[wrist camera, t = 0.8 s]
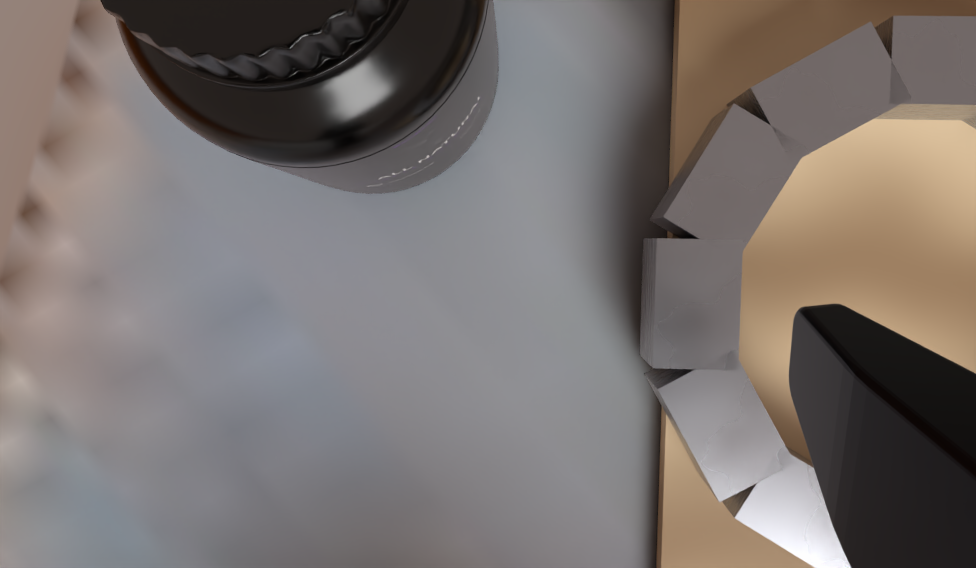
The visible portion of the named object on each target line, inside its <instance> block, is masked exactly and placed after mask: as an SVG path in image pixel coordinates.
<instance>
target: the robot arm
mask: <svg viewBox="0 0 976 568" xmlns="http://www.w3.org/2000/svg"><path fill="white" fill-rule="evenodd" d="M789 387H790V393H791V397H792V400H793V404H794V407H795V410H796V413H797V416H798V419H799V422H800V426H801V429H802V432H803V435H804V438H805V441H806V445H807V448H808V451H809V454H810V457H811V460H812V463H813V467H814V470H815V473H816V476H817V479H818V482H819V486H820V489H821V492H822V495H823V498H824V501H825V504H826V507H827V510H828V513H829V516H830V519H831V522H832V525H833V528H834V530H835V532H836V535H837V537H838V540H839V542H840V544H841V547H842V549H843V551H844V554H845V556H846V558H847V560H848V562H849V564H850V567H851V568H976V373H974V372H972V371H970V370H968V369H966V368H964V367H963V366H961V365H959V364H957V363H955V362H953V361H951V360H949V359H947V358H945V357H943V356H941V355H939V354H937V353H935V352H933V351H932V350H930V349H928V348H926V347H924V346H922V345H920V344H918V343H916V342H914V341H912V340H910V339H908V338H906V337H904V336H902V335H900V334H899V333H897V332H895V331H893V330H891V329H889V328H887V327H885V326H883V325H881V324H879V323H877V322H875V321H873V320H871V319H869V318H868V317H866V316H864V315H862V314H860V313H858V312H856V311H854V310H852V309H850V308H848V307H846V306H844V305H842V304H836V303H834V304H824V305H815V306H805V307H801V308H800V309H799V310H798V311H797V312H796V314H795V316H794V320H793V329H792V341H791V352H790V363H789Z"/></svg>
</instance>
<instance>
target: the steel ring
mask: <svg viewBox="0 0 976 568" xmlns="http://www.w3.org/2000/svg"><path fill="white" fill-rule="evenodd" d="M727 106H728V108H726V109H725V110H723V111H722V112H720V113H719V114H717V115H716V116H714V117H713V118H712V119H711V120H710V122H709V124H708V125H707V127H706V129H705V130H704V132H703V133H702V135H701V137H700V138H699V140H698V141H697V143H696V145H695V146H694V148H693V149H692V151H691V153H690V154H689V156H688V158H687V159H686V161H685V162H684V164H683V166H682V167H681V169H680V170H679V172H678V174H677V175H676V177H675V179H674V180H673V182H672V183H671V185H670V187H669V188H668V190H667V191H666V193H665V195H664V196H663V198H662V200H661V201H660V203H659V204H658V206H657V208H656V209H655V211H654V212H653V214H652V216H651V217H650V219H649V220H651V221H652V222H654V223H656V224H657V225H659V226H660V227H662V228H664V229H665V230H667V231H669V232H670V233H672V234H674V235H675V236H677V237H679V238H680V239H671V238H645V239H643V265H642V297H641V329H640V356H641V357H642V358H643V359H644V360H645V361H646V362H647V363H648V364H649V365H650V366H651V367H652V368H654V369H652V370H650V371H648V372H646V373H644V374H645V376H646V378H647V380H648V382H649V383H650V385H651V387H652V389H653V391H654V393H655V394H656V396H657V398H658V400H659V402H660V404H661V405H662V407H663V409H664V411H665V413H666V415H667V416H668V418H669V420H670V422H671V424H672V426H673V427H674V429H675V431H676V433H677V435H678V437H679V438H680V440H681V442H682V444H683V446H684V448H685V450H686V451H687V453H688V455H689V457H690V459H691V461H692V462H693V464H694V466H695V468H696V470H697V472H698V473H699V475H700V476H701V478H702V479H703V481H704V482H705V483H706V485H707V486H708V487H709V489H710V490H711V492H712V493H713V494H714V496H715V497H716V498H717V500H718V501H719V502H721V501H722V502H723V503H724V505H725V506H726V507H727V509H728V510H729V512H730V513H731V514H732V516H733V517H734V518H735V519H737V520H738V521H740V522H741V523H743V524H745V525H746V526H748V527H750V528H751V529H753V530H755V531H756V532H758V533H759V534H761V535H763V536H764V537H766V538H768V539H769V540H771V541H773V542H774V543H776V544H777V545H779V546H781V547H782V548H784V549H786V550H787V551H789V552H791V553H792V554H794V555H795V556H797V557H799V558H800V559H802V560H804V561H805V562H807V563H808V564H810V565H812V566H813V567H815V568H851V567H850V564H849V562H848V560H847V558H846V556H845V554H844V551H843V549H842V547H841V544H840V542H839V540H838V537H837V535H836V532H835V530H834V528H833V525H832V522H831V519H830V516H829V513H828V510H827V507H826V504H825V501H824V498H823V495H822V492H821V489H820V486H819V482H818V479H817V476H816V473H815V470H814V467H813V463H812V461H810V460H809V459H807V458H805V457H804V456H802V455H800V454H799V453H797V452H796V451H794V450H792V449H791V448H789V447H787V446H786V445H785V444H784V442H783V440H782V439H781V437H780V435H779V433H778V431H777V429H776V428H775V426H774V424H773V422H772V420H771V418H770V416H769V415H768V413H767V411H766V409H765V407H764V405H763V404H762V402H761V400H760V398H759V396H758V394H757V392H756V391H755V389H754V387H753V385H752V383H751V381H750V380H749V378H748V376H747V374H746V372H745V370H744V368H743V367H742V365H741V363H740V361H739V336H740V310H741V283H742V256H743V250H744V249H745V247H746V245H747V244H748V242H749V241H750V239H751V237H752V236H753V234H754V233H755V231H756V230H757V228H758V226H759V225H760V223H761V222H762V220H763V218H764V217H765V215H766V214H767V212H768V210H769V209H770V207H771V206H772V204H773V203H774V201H775V199H776V198H777V196H778V195H779V193H780V191H781V190H782V188H783V187H784V185H785V184H786V182H787V180H788V179H789V177H790V176H791V174H792V172H793V171H794V169H795V168H796V166H797V164H798V163H799V161H800V160H801V158H802V157H804V156H806V155H808V154H810V153H811V152H813V151H815V150H817V149H819V148H821V147H823V146H824V145H826V144H828V143H830V142H832V141H834V140H835V139H837V138H839V137H841V136H843V135H845V134H847V133H848V132H850V131H852V130H854V129H856V128H858V127H859V126H861V125H863V124H865V123H867V122H869V121H871V120H872V119H900V120H962V121H963V122H965V123H967V124H968V125H970V126H972V127H973V128H975V129H976V16H892V17H890V18H889V19H887V20H886V21H884V22H882V23H881V24H879V25H878V26H876V27H874V26H873V24H872V22H869V23H867V24H865V25H863V26H861V27H860V28H858V29H856V30H854V31H852V32H851V33H849V34H847V35H845V36H843V37H842V38H840V39H838V40H836V41H834V42H832V43H831V44H829V45H827V46H825V47H823V48H822V49H820V50H818V51H816V52H814V53H812V54H811V55H809V56H807V57H805V58H803V59H802V60H800V61H798V62H796V63H794V64H792V65H791V66H789V67H787V68H785V69H783V70H782V71H780V72H778V73H776V74H774V75H772V76H771V77H769V78H767V79H765V80H763V81H762V82H760V83H758V84H756V85H754V86H752V87H751V88H749V89H748V90H746V91H745V92H743V93H742V94H741V95H739V96H738V97H736V98H735V99H733V100H732V101H731V102H729V103H728V104H727Z"/></svg>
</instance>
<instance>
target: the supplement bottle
mask: <svg viewBox="0 0 976 568" xmlns="http://www.w3.org/2000/svg"><path fill="white" fill-rule="evenodd" d="M101 2H102V4H103V6H104V8H105V10H106V11H107V12H108V13H110V14H111V15H113V16H114V17H115V18H116V22H117V25H118V28H119V31H120V34H121V37H122V40H123V43H124V45H125V47H126V49H127V52H128V54H129V56H130V58H131V60H132V62H133V64H134V65H135V67H136V69H137V71H138V72H139V74H140V76H141V77H142V79H143V80H144V81H145V83H146V84H147V86H148V87H149V89H150V90H151V91H152V93H153V94H154V95H155V96H156V97H157V98H158V100H159V101H160V102H161V103H162V104H163V105H164V106H165V107H166V108H167V109H168V110H169V111H170V112H171V113H172V114H173V115H174V116H175V117H176V118H177V119H178V120H180V121H181V122H182V123H183V124H185V125H186V126H187V127H188V128H190V129H191V130H192V131H194V132H196V133H197V134H199V135H200V136H202V137H203V138H205V139H206V140H208V141H210V142H212V143H214V144H215V145H217V146H219V147H221V148H223V149H225V150H227V151H229V152H231V153H234V154H236V155H239V156H241V157H244V158H247V159H249V160H252V161H255V162H258V163H261V164H263V165H266V166H269V167H272V168H275V169H278V170H281V171H284V172H287V173H290V174H293V175H296V176H299V177H302V178H305V179H307V180H310V181H313V182H316V183H319V184H322V185H325V186H329V187H332V188H336V189H340V190H344V191H349V192H355V193H366V194H379V193H389V192H396V191H400V190H405V189H408V188H411V187H414V186H417V185H420V184H422V183H424V182H426V181H429V180H430V179H432V178H434V177H436V176H438V175H439V174H441V173H442V172H444V171H445V170H446V169H448V168H449V167H450V166H452V165H453V164H454V163H455V162H456V161H457V160H459V159H460V158H461V156H462V155H463V154H464V153H465V152H466V151H467V150H468V149H469V148H470V146H471V145H472V144H473V142H474V141H475V140H476V138H477V136H478V135H479V133H480V132H481V130H482V128H483V126H484V124H485V122H486V120H487V118H488V115H489V113H490V110H491V108H492V104H493V101H494V97H495V93H496V88H497V82H498V70H499V66H498V42H497V32H496V22H495V12H494V3H493V0H101Z"/></svg>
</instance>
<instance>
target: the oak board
mask: <svg viewBox="0 0 976 568" xmlns="http://www.w3.org/2000/svg"><path fill="white" fill-rule="evenodd" d="M892 16H976V0H675V15H674V45H673V76H672V106H671V136H670V167H669V187H670V185H671V183H672V182H673V180H674V179H675V177H676V175H677V174H678V172H679V170H680V169H681V167H682V166H683V164H684V162H685V161H686V159H687V158H688V156H689V154H690V153H691V151H692V149H693V148H694V146H695V145H696V143H697V141H698V140H699V138H700V137H701V135H702V133H703V132H704V130H705V129H706V127H707V125H708V124H709V122H710V120H711V119H712V118H713V117H714V116H716V115H717V114H719V113H720V112H722V111H723V110H725V109H726V108H728V106H727V104H728V103H729V102H731V101H732V100H733V99H735V98H736V97H738V96H739V95H741V94H742V93H743V92H745V91H746V90H748V89H749V88H751V87H752V86H754V85H756V84H758V83H760V82H762V81H763V80H765V79H767V78H769V77H771V76H772V75H774V74H776V73H778V72H780V71H782V70H783V69H785V68H787V67H789V66H791V65H792V64H794V63H796V62H798V61H800V60H802V59H803V58H805V57H807V56H809V55H811V54H812V53H814V52H816V51H818V50H820V49H822V48H823V47H825V46H827V45H829V44H831V43H832V42H834V41H836V40H838V39H840V38H842V37H843V36H845V35H847V34H849V33H851V32H852V31H854V30H856V29H858V28H860V27H861V26H863V25H865V24H867V23H869V22H872V24H873V26H874V27H876V26H878V25H879V24H881V23H882V22H884V21H886V20H887V19H889V18H890V17H892ZM667 238H671V239H680V238H679V237H677V236H675V235H674V234H672V233H670V232H669V231H667ZM834 303H836V304H842V305H844V306H846V307H848V308H850V309H852V310H854V311H856V312H858V313H860V314H862V315H864V316H866V317H868V318H869V319H871V320H873V321H875V322H877V323H879V324H881V325H883V326H885V327H887V328H889V329H891V330H893V331H895V332H897V333H899V334H900V335H902V336H904V337H906V338H908V339H910V340H912V341H914V342H916V343H918V344H920V345H922V346H924V347H926V348H928V349H930V350H932V351H933V352H935V353H937V354H939V355H941V356H943V357H945V358H947V359H949V360H951V361H953V362H955V363H957V364H959V365H961V366H963V367H964V368H966V369H968V370H970V371H972V372H974V373H976V129H975V128H973V127H972V126H970V125H968V124H967V123H965V122H963V121H962V120H900V119H872V120H871V121H869V122H867V123H865V124H863V125H861V126H859V127H858V128H856V129H854V130H852V131H850V132H848V133H847V134H845V135H843V136H841V137H839V138H837V139H835V140H834V141H832V142H830V143H828V144H826V145H824V146H823V147H821V148H819V149H817V150H815V151H813V152H811V153H810V154H808V155H806V156H804V157H802V158H801V160H800V161H799V163H798V164H797V166H796V168H795V169H794V171H793V172H792V174H791V176H790V177H789V179H788V180H787V182H786V184H785V185H784V187H783V188H782V190H781V191H780V193H779V195H778V196H777V198H776V199H775V201H774V203H773V204H772V206H771V207H770V209H769V210H768V212H767V214H766V215H765V217H764V218H763V220H762V222H761V223H760V225H759V226H758V228H757V230H756V231H755V233H754V234H753V236H752V237H751V239H750V241H749V242H748V244H747V245H746V247H745V249H744V250H743V256H742V283H741V310H740V336H739V361H740V363H741V365H742V367H743V368H744V370H745V372H746V374H747V376H748V378H749V380H750V381H751V383H752V385H753V387H754V389H755V391H756V392H757V394H758V396H759V398H760V400H761V402H762V404H763V405H764V407H765V409H766V411H767V413H768V415H769V416H770V418H771V420H772V422H773V424H774V426H775V428H776V429H777V431H778V433H779V435H780V437H781V439H782V440H783V442H784V444H785V445H786V446H787V447H789V448H791V449H792V450H794V451H796V452H797V453H799V454H800V455H802V456H804V457H805V458H807V459H809V460H810V461H812V460H811V457H810V454H809V451H808V448H807V445H806V441H805V438H804V435H803V432H802V429H801V426H800V422H799V419H798V416H797V413H796V410H795V407H794V404H793V400H792V397H791V393H790V387H789V363H790V352H791V341H792V329H793V320H794V316H795V314H796V312H797V311H798V310H799V309H800V308H801V307H805V306H815V305H824V304H834ZM656 568H815V567H813V566H812V565H810V564H808V563H807V562H805V561H804V560H802V559H800V558H799V557H797V556H795V555H794V554H792V553H791V552H789V551H787V550H786V549H784V548H782V547H781V546H779V545H777V544H776V543H774V542H773V541H771V540H769V539H768V538H766V537H764V536H763V535H761V534H759V533H758V532H756V531H755V530H753V529H751V528H750V527H748V526H746V525H745V524H743V523H741V522H740V521H738V520H737V519H735V518H734V517H733V516H732V514H731V513H730V512H729V510H728V509H727V507H726V506H725V505H724V503H723V502H722V501H721V502H719V501H718V500H717V498H716V497H715V496H714V494H713V493H712V492H711V490H710V489H709V487H708V486H707V485H706V483H705V482H704V481H703V479H702V478H701V476H700V475H699V473H698V472H697V470H696V468H695V466H694V464H693V462H692V461H691V459H690V457H689V455H688V453H687V451H686V450H685V448H684V446H683V444H682V442H681V440H680V438H679V437H678V435H677V433H676V431H675V429H674V427H673V426H672V424H671V422H670V420H669V418H668V416H667V415H666V413H665V411H664V409H663V407H662V410H661V441H660V471H659V502H658V532H657V562H656Z"/></svg>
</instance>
